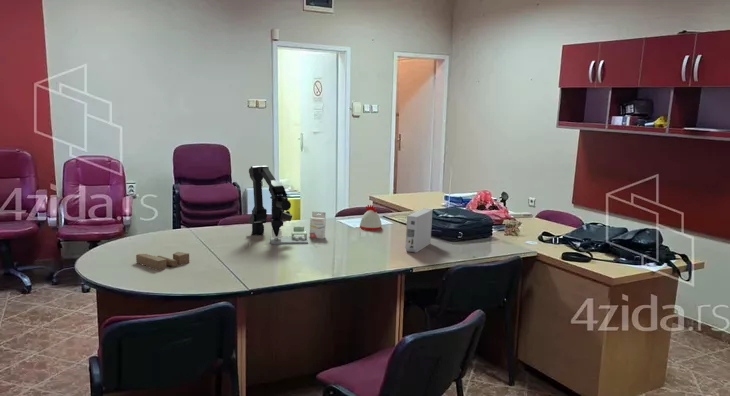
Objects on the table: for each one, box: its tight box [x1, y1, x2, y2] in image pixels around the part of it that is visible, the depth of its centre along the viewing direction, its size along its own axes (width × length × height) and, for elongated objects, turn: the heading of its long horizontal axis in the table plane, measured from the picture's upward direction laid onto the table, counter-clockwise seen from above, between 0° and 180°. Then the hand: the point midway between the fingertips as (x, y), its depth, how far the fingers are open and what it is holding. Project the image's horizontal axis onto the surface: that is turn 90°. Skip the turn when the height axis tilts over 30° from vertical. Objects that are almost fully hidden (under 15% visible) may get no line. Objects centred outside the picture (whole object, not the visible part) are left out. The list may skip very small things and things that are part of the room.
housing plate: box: [270, 235, 309, 245], centre depth 305 cm, size 20×14×4 cm
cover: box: [291, 225, 308, 240], centre depth 309 cm, size 8×7×6 cm
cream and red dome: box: [359, 204, 383, 231], centre depth 346 cm, size 14×14×15 cm
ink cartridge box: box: [309, 211, 327, 239], centre depth 315 cm, size 9×5×15 cm, turn 84°
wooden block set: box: [135, 251, 190, 271], centre depth 253 cm, size 17×6×18 cm
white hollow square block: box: [271, 228, 282, 238], centre depth 302 cm, size 5×5×4 cm
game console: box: [404, 207, 433, 254], centre depth 300 cm, size 6×27×20 cm, turn 155°
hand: (276, 235), depth 302 cm, fingers closed on white hollow square block, 5 cm apart
